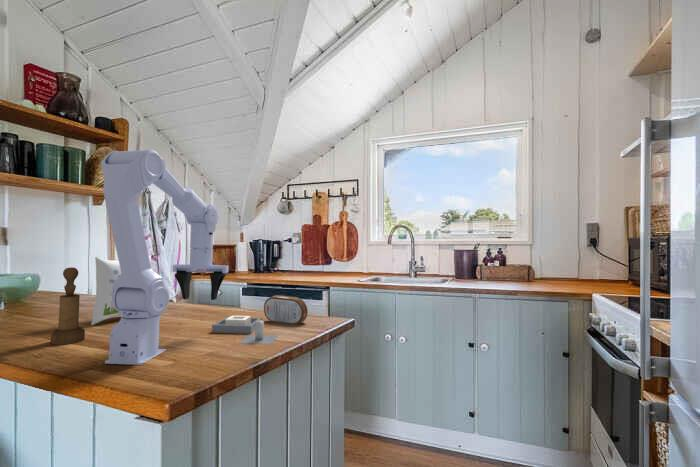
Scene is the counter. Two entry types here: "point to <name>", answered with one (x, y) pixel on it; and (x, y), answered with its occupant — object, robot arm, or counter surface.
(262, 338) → the grey plate with post
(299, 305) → the tin
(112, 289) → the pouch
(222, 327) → the tray
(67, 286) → the brown tall wooden piece
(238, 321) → the ring
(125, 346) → the robot arm
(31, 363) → the counter surface
